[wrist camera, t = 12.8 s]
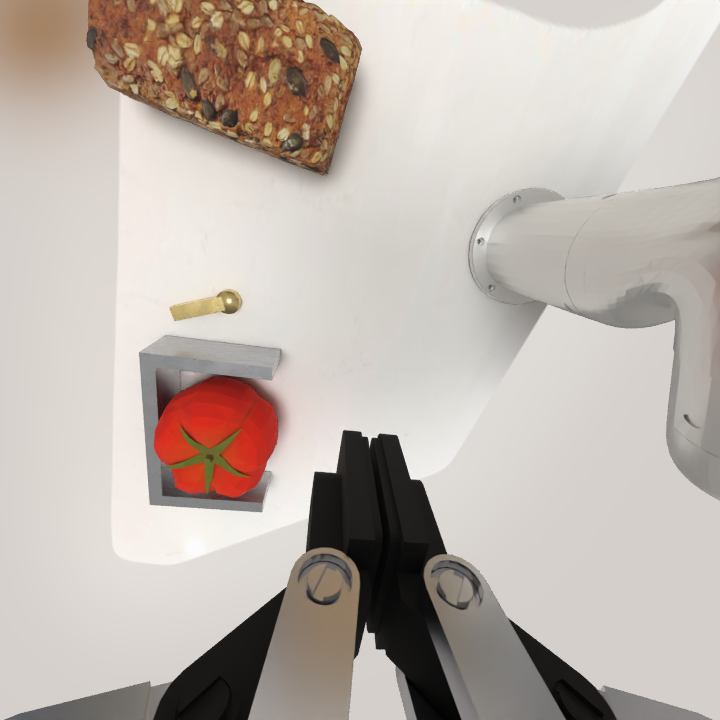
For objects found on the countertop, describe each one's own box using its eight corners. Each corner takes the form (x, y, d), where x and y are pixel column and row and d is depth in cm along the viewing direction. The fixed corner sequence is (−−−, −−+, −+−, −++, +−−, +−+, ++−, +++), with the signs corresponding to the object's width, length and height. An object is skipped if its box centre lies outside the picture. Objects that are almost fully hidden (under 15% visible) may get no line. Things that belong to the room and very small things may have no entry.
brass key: (237, 287, 40) (235, 288, 39) (244, 309, 41) (242, 311, 40) (171, 301, 40) (167, 303, 39) (179, 322, 41) (176, 325, 40)
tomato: (158, 392, 44) (107, 439, 34) (251, 349, 42) (226, 386, 33) (217, 470, 48) (188, 532, 39) (302, 434, 47) (294, 489, 38)
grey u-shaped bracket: (280, 349, 43) (272, 367, 37) (270, 480, 50) (262, 512, 44) (165, 335, 41) (139, 352, 35) (171, 472, 48) (149, 504, 42)
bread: (142, 109, 33) (68, 64, 24) (160, -27, 30) (82, -142, 21) (327, 185, 37) (324, 171, 27) (361, 70, 33) (372, 10, 24)
